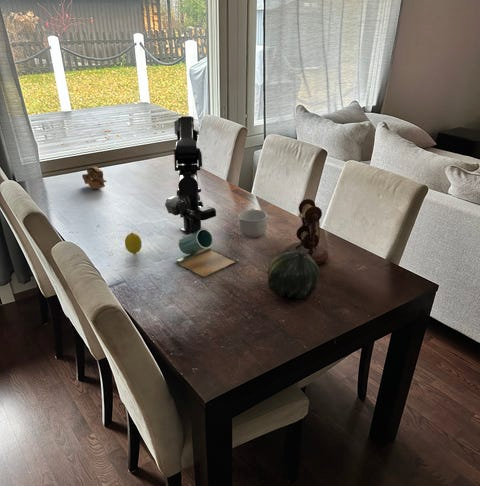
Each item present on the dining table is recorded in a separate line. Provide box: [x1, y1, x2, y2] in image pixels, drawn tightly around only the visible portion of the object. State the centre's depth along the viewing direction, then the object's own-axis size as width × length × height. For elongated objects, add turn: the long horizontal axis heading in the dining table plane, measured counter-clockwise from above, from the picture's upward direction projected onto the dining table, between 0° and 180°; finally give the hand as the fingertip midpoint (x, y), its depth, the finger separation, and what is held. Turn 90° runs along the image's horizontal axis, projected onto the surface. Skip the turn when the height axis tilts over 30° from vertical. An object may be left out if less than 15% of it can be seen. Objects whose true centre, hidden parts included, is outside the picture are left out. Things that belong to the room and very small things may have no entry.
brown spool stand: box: [283, 198, 329, 265], centre depth 143 cm, size 15×15×20 cm
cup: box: [178, 228, 214, 255], centre depth 144 cm, size 6×6×11 cm
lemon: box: [124, 232, 143, 255], centre depth 148 cm, size 6×6×8 cm
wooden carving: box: [81, 166, 107, 190], centre depth 205 cm, size 16×5×10 cm, turn 55°
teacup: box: [237, 207, 269, 238], centre depth 164 cm, size 14×11×8 cm
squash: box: [267, 251, 320, 300], centre depth 126 cm, size 14×15×15 cm
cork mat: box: [176, 247, 236, 278], centre depth 144 cm, size 13×14×1 cm
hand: (191, 232), depth 143 cm, fingers closed
